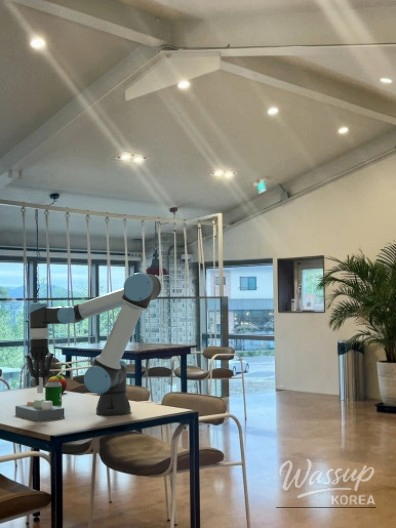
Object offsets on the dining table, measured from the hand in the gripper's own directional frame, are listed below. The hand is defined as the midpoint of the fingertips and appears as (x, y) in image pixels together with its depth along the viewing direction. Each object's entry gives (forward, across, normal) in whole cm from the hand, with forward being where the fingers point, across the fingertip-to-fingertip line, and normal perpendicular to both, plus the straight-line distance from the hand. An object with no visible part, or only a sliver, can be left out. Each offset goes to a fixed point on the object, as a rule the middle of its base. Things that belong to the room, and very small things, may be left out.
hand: (40, 392), depth 284 cm
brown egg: (+9, +1, -7) cm, 12 cm away
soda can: (+10, -14, -16) cm, 24 cm away
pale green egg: (+8, 0, 0) cm, 8 cm away
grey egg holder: (+10, 0, 0) cm, 10 cm away
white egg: (+8, 0, +7) cm, 11 cm away
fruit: (+10, -40, -65) cm, 77 cm away
